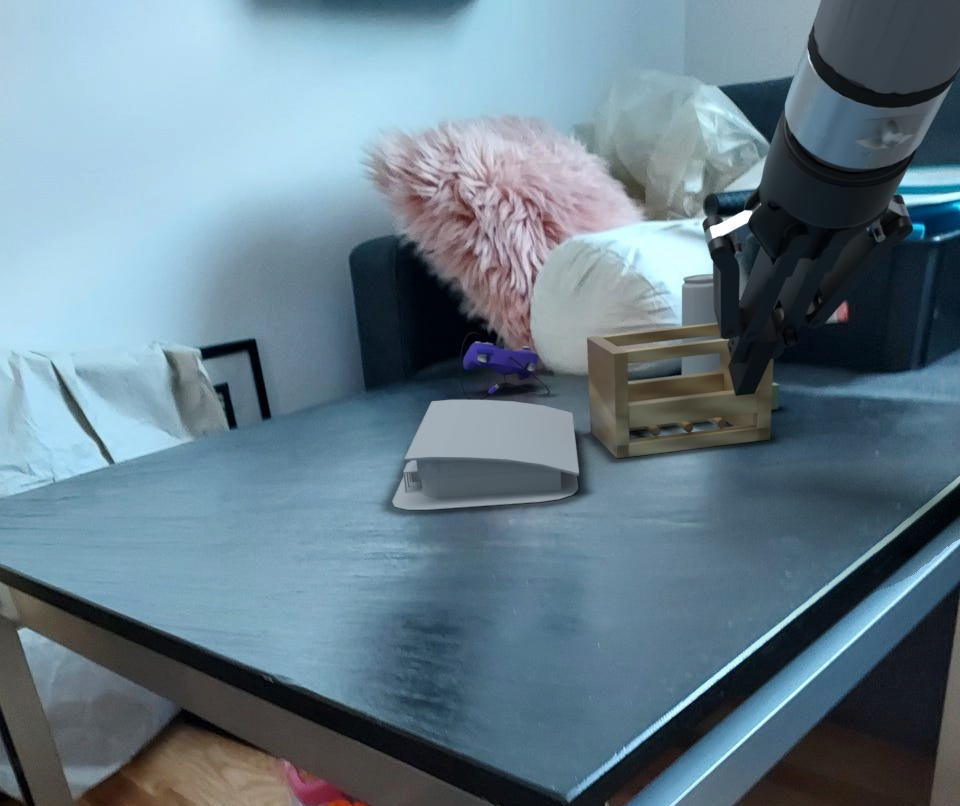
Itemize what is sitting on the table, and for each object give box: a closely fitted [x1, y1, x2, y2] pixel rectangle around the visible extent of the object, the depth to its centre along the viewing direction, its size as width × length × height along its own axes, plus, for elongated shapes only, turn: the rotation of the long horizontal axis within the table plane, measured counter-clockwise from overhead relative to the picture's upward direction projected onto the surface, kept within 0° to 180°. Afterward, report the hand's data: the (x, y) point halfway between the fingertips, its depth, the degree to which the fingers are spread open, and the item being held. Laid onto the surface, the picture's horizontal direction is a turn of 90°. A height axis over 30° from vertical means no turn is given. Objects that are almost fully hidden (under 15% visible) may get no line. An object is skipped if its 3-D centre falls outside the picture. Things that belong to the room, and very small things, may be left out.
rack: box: [586, 322, 775, 459], centre depth 87 cm, size 14×10×9 cm
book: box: [391, 399, 580, 511], centre depth 84 cm, size 15×23×4 cm, turn 177°
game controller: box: [459, 331, 551, 400], centre depth 112 cm, size 10×8×10 cm
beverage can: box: [681, 273, 720, 375], centre depth 100 cm, size 5×5×12 cm
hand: (741, 379), depth 74 cm, fingers closed
